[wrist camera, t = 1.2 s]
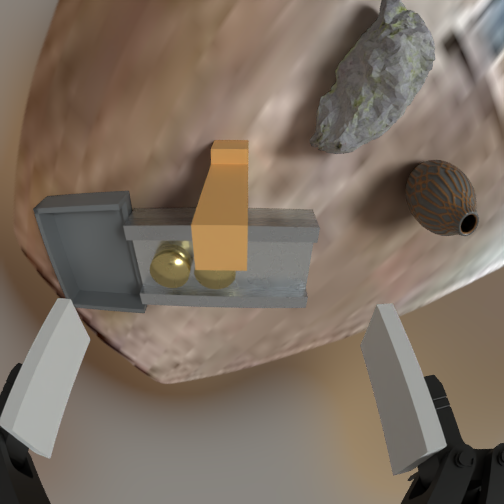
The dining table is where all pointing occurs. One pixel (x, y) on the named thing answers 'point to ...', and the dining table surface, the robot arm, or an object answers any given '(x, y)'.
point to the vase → (442, 199)
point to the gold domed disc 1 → (171, 266)
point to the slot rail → (246, 282)
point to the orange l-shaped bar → (223, 210)
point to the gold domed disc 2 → (215, 278)
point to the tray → (92, 249)
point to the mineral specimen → (375, 80)
